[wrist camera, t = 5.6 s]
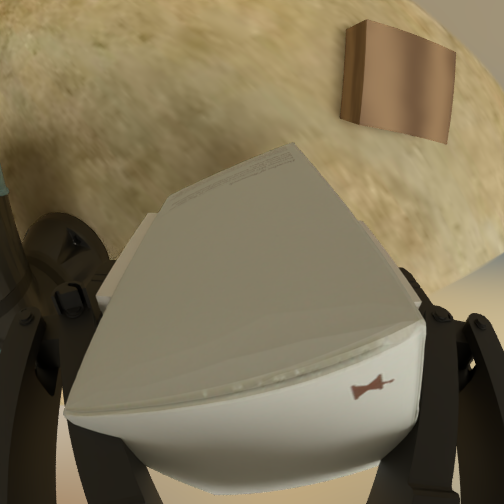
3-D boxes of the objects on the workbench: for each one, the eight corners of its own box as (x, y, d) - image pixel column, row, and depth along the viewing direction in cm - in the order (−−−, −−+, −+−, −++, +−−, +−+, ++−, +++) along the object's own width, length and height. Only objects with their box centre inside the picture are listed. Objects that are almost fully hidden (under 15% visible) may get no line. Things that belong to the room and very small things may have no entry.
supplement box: (164, 194, 15) (46, 410, 4) (295, 138, 14) (449, 317, 3) (223, 294, 19) (211, 499, 8) (335, 254, 17) (416, 456, 7)
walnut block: (339, 118, 30) (359, 124, 24) (346, 29, 24) (366, 19, 19) (419, 134, 30) (446, 144, 25) (427, 53, 25) (455, 52, 19)
